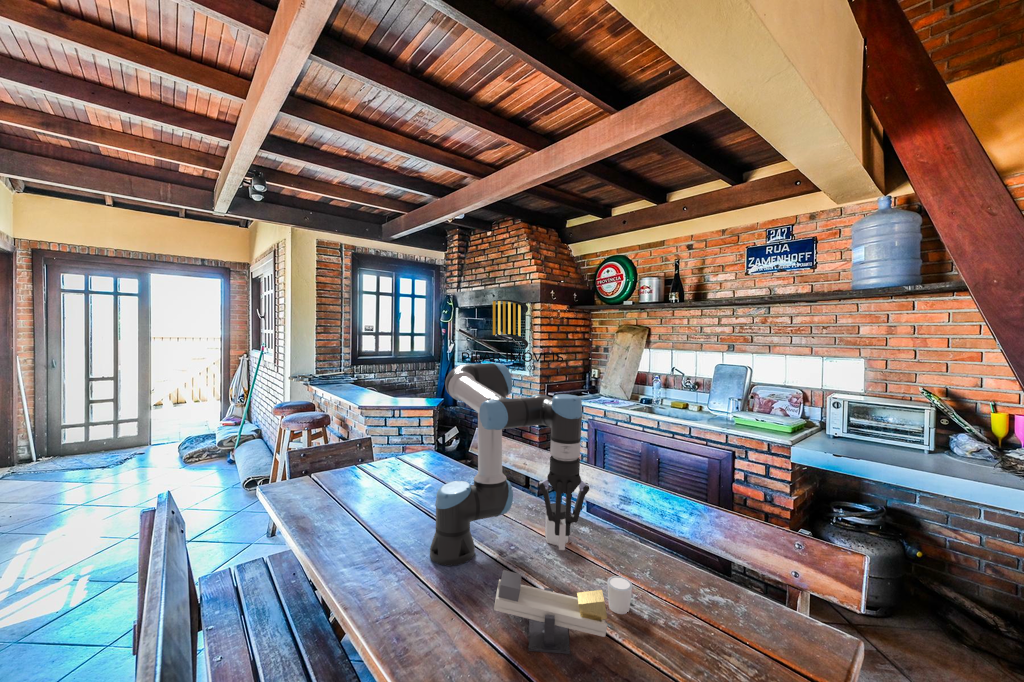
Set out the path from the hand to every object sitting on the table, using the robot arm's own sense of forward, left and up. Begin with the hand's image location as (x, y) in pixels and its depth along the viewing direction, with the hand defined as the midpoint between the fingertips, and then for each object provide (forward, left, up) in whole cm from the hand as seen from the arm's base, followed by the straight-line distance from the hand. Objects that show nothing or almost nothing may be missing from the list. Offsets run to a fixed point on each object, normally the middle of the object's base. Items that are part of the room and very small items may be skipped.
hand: (561, 547), depth 106 cm
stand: (-3, 0, -22) cm, 22 cm away
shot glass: (+17, +11, -22) cm, 30 cm away
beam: (-3, 0, -17) cm, 17 cm away
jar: (+1, +46, -22) cm, 51 cm away
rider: (+5, 0, -15) cm, 16 cm away
